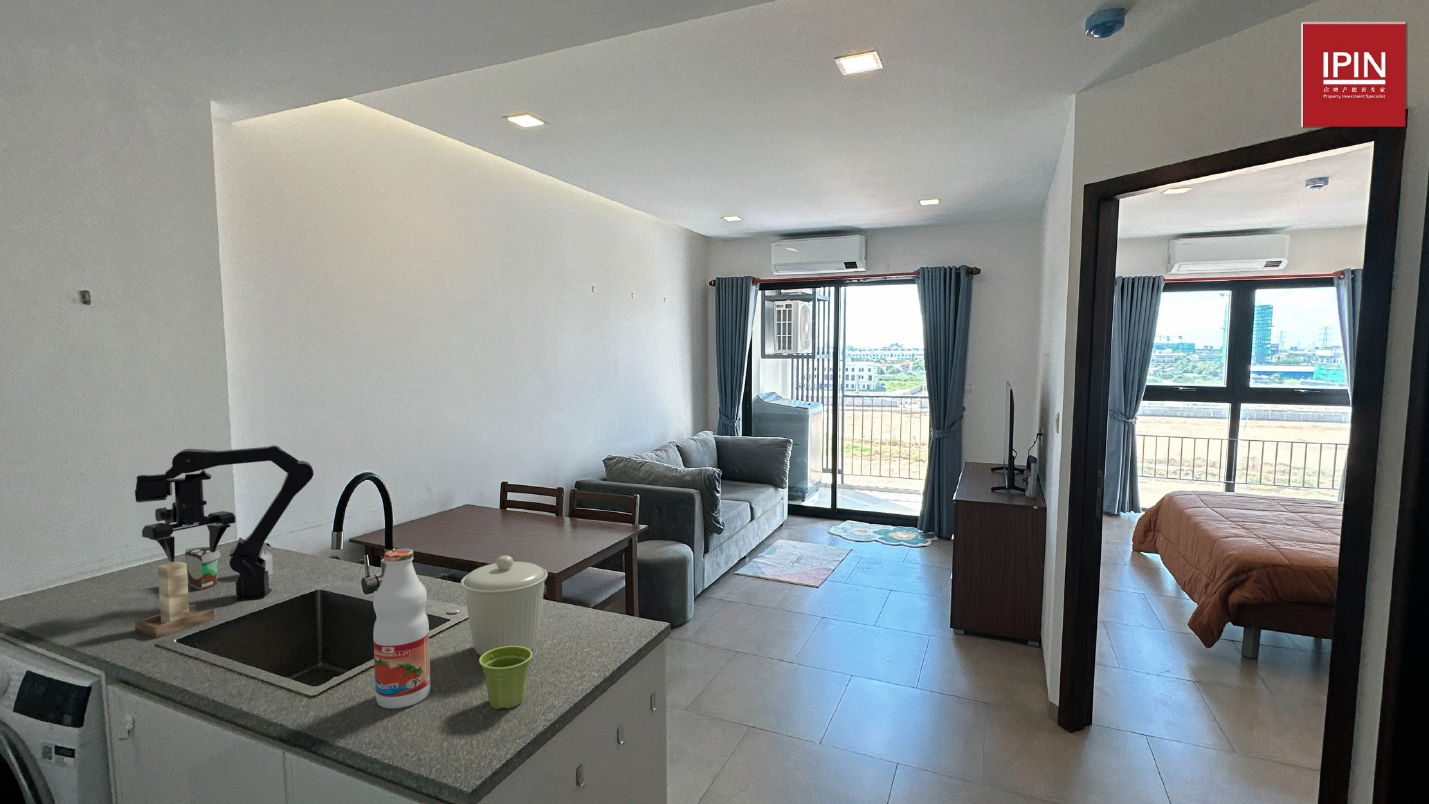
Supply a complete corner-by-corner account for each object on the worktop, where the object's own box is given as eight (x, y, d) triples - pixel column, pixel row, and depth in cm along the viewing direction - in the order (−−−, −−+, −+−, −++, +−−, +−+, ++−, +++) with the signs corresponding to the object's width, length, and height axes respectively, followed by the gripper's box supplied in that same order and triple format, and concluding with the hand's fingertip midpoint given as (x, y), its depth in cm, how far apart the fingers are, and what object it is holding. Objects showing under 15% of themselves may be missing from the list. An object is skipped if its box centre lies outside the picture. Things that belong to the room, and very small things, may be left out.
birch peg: (180, 617, 160) (177, 561, 159) (189, 619, 159) (186, 563, 158) (161, 623, 157) (157, 566, 156) (170, 625, 155) (167, 568, 154)
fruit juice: (440, 686, 127) (436, 546, 126) (410, 712, 118) (405, 560, 116) (397, 683, 129) (392, 543, 127) (364, 707, 120) (358, 558, 118)
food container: (229, 584, 187) (228, 550, 186) (204, 591, 182) (202, 555, 181) (211, 577, 193) (209, 544, 193) (186, 583, 188) (184, 549, 188)
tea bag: (256, 572, 198) (255, 539, 197) (273, 574, 196) (271, 541, 195) (244, 576, 195) (242, 543, 194) (261, 578, 193) (259, 544, 192)
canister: (461, 641, 148) (458, 550, 147) (542, 627, 155) (540, 541, 154) (464, 675, 132) (461, 573, 130) (555, 659, 139) (553, 562, 138)
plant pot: (511, 684, 128) (510, 641, 128) (543, 698, 123) (542, 653, 122) (469, 704, 121) (468, 659, 120) (502, 720, 115) (501, 672, 115)
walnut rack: (193, 613, 165) (192, 604, 165) (214, 619, 161) (213, 609, 161) (135, 631, 154) (134, 621, 154) (156, 638, 150) (155, 627, 150)
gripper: (211, 489, 181) (214, 544, 182) (128, 502, 164) (132, 563, 165) (235, 492, 176) (238, 549, 177) (152, 506, 159) (156, 568, 160)
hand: (192, 556), depth 170 cm, fingers open, 9 cm apart
